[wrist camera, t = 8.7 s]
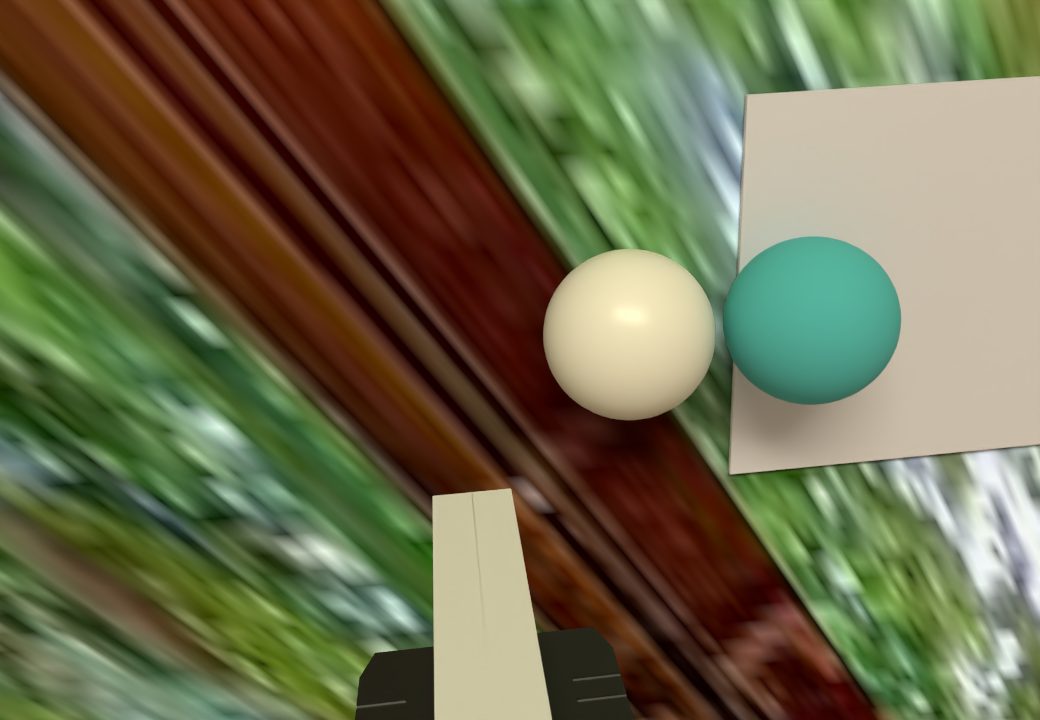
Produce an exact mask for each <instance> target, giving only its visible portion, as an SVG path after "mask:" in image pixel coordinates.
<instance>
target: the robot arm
mask: <svg viewBox="0 0 1040 720" xmlns="http://www.w3.org/2000/svg"><path fill="white" fill-rule="evenodd" d="M433 591H434V647H425V648H416V649H407V650H398V651H389V652H380V653H375V654H374V656H373V657H372V659H371V660H370V662H369V664H368V665H367V667H366V668H365V670H364V672H363V673H362V675H361V676H360V678H359V688H358V697H357V710H356V716H355V720H634V718H633V714H632V711H631V708H630V704H629V701H628V698H627V697H626V691H625V687H624V684H623V681H622V677H621V676H620V671H619V667H618V664H617V660H616V657H615V654H614V650H613V647H612V646H611V645H610V644H609V643H608V642H607V641H606V640H605V639H604V638H603V636H602V635H601V634H600V633H599V632H598V631H597V630H596V629H595V628H594V627H588V628H579V629H570V630H561V631H552V632H542V633H537V632H536V626H535V621H534V615H533V610H532V604H531V598H530V593H529V587H528V582H527V576H526V570H525V565H524V559H523V554H522V548H521V542H520V537H519V531H518V525H517V520H516V514H515V509H514V503H513V497H512V492H511V489H501V490H491V491H481V492H470V493H460V494H450V495H439V496H433Z"/></svg>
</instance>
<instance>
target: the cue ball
mask: <svg viewBox="0 0 1040 720" xmlns="http://www.w3.org/2000/svg"><path fill="white" fill-rule="evenodd" d="M715 340H716V328H715V320H714V314H713V311H712V308H711V305H710V302H709V300H708V298H707V296H706V294H705V292H704V291H703V289H702V287H701V286H700V284H699V283H698V282H697V281H696V279H695V278H694V277H693V276H692V275H691V274H690V273H689V272H688V271H687V270H686V269H685V268H683V267H682V266H681V265H679V264H678V263H676V262H675V261H673V260H671V259H670V258H667V257H665V256H663V255H661V254H657V253H654V252H651V251H646V250H639V249H621V250H613V251H609V252H605V253H602V254H599V255H597V256H595V257H592V258H590V259H588V260H586V261H585V262H583V263H582V264H580V265H579V266H577V267H576V268H575V269H574V270H572V271H571V272H570V273H569V274H568V275H567V276H566V277H565V279H564V280H563V281H562V282H561V283H560V285H559V286H558V287H557V289H556V291H555V292H554V294H553V296H552V298H551V300H550V303H549V305H548V308H547V311H546V315H545V320H544V327H543V342H544V350H545V354H546V359H547V362H548V365H549V367H550V370H551V372H552V374H553V376H554V377H555V379H556V381H557V382H558V384H559V385H560V386H561V388H562V389H563V390H564V391H565V392H566V393H567V395H568V396H569V397H571V398H572V399H573V400H574V401H575V402H576V403H578V404H579V405H581V406H582V407H584V408H586V409H588V410H590V411H591V412H593V413H596V414H598V415H601V416H604V417H608V418H611V419H619V420H639V419H646V418H651V417H654V416H658V415H660V414H662V413H665V412H667V411H669V410H671V409H673V408H674V407H676V406H677V405H679V404H680V403H682V402H683V401H684V400H685V399H687V398H688V397H689V396H690V395H691V394H692V393H693V392H694V391H695V389H696V388H697V387H698V386H699V384H700V383H701V382H702V380H703V378H704V377H705V375H706V373H707V371H708V368H709V366H710V363H711V361H712V358H713V354H714V349H715Z"/></svg>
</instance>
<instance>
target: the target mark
mask: <svg viewBox="0 0 1040 720" xmlns="http://www.w3.org/2000/svg"><path fill="white" fill-rule="evenodd" d="M808 236H820V237H829V238H833V239H837V240H841V241H845V242H847V243H849V244H851V245H853V246H856V247H858V248H860V249H861V250H863V251H864V252H866V253H867V254H868V255H870V256H871V257H872V258H873V259H875V260H876V261H877V262H878V263H879V264H880V266H881V267H882V268H883V269H884V270H885V272H886V273H887V274H888V276H889V278H890V280H891V282H892V283H893V285H894V287H895V289H896V292H897V295H898V299H899V303H900V309H901V330H900V336H899V340H898V344H897V347H896V349H895V352H894V354H893V356H892V358H891V360H890V361H889V363H888V364H887V366H886V368H885V369H884V370H883V371H882V373H881V374H880V375H879V376H878V377H877V378H876V379H875V380H874V381H873V382H871V383H870V384H869V385H868V386H866V387H865V388H864V389H862V390H861V391H859V392H857V393H856V394H854V395H852V396H850V397H847V398H845V399H842V400H839V401H835V402H832V403H826V404H817V405H804V404H796V403H790V402H787V401H783V400H780V399H777V398H774V397H772V396H771V395H769V394H767V393H765V392H763V391H761V390H760V389H758V388H757V387H756V386H755V385H753V384H752V383H751V382H750V381H749V380H748V379H747V378H746V377H745V376H744V375H743V374H742V373H741V371H740V370H739V369H738V367H737V366H736V364H735V363H734V361H733V378H732V400H731V422H730V444H729V466H728V472H729V474H740V473H750V472H761V471H771V470H781V469H791V468H802V467H812V466H822V465H832V464H843V463H853V462H863V461H873V460H884V459H894V458H904V457H914V456H924V455H935V454H945V453H955V452H965V451H976V450H986V449H996V448H1006V447H1017V446H1027V445H1037V444H1040V76H1033V77H1017V78H1002V79H986V80H970V81H955V82H939V83H923V84H907V85H892V86H876V87H860V88H845V89H829V90H813V91H797V92H782V93H766V94H750V95H745V112H744V134H743V157H742V179H741V201H740V223H739V245H738V267H737V276H738V274H739V273H740V272H741V271H742V269H743V268H744V267H745V266H746V265H747V264H748V263H749V262H750V261H751V260H752V259H753V258H754V257H755V256H757V255H758V254H759V253H761V252H762V251H764V250H765V249H767V248H769V247H771V246H773V245H775V244H777V243H780V242H783V241H786V240H789V239H794V238H799V237H808Z"/></svg>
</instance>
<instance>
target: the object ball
mask: <svg viewBox="0 0 1040 720" xmlns="http://www.w3.org/2000/svg"><path fill="white" fill-rule="evenodd" d="M723 329H724V336H725V341H726V345H727V348H728V350H729V353H730V355H731V357H732V359H733V361H734V363H735V364H736V366H737V367H738V369H739V370H740V371H741V373H742V374H743V375H744V376H745V377H746V378H747V379H748V380H749V381H750V382H751V383H752V384H753V385H755V386H756V387H757V388H758V389H760V390H761V391H763V392H765V393H767V394H769V395H771V396H772V397H774V398H777V399H780V400H783V401H787V402H790V403H796V404H804V405H817V404H826V403H832V402H835V401H839V400H842V399H845V398H847V397H850V396H852V395H854V394H856V393H857V392H859V391H861V390H862V389H864V388H865V387H866V386H868V385H869V384H870V383H871V382H873V381H874V380H875V379H876V378H877V377H878V376H879V375H880V374H881V373H882V371H883V370H884V369H885V368H886V366H887V364H888V363H889V361H890V360H891V358H892V356H893V354H894V352H895V349H896V347H897V344H898V340H899V336H900V330H901V309H900V303H899V299H898V295H897V292H896V289H895V287H894V285H893V283H892V282H891V280H890V278H889V276H888V274H887V273H886V272H885V270H884V269H883V268H882V267H881V266H880V264H879V263H878V262H877V261H876V260H875V259H873V258H872V257H871V256H870V255H868V254H867V253H866V252H864V251H863V250H861V249H860V248H858V247H856V246H853V245H851V244H849V243H847V242H845V241H841V240H837V239H833V238H829V237H820V236H808V237H799V238H794V239H789V240H786V241H783V242H780V243H777V244H775V245H773V246H771V247H769V248H767V249H765V250H764V251H762V252H761V253H759V254H758V255H757V256H755V257H754V258H753V259H752V260H751V261H750V262H749V263H748V264H747V265H746V266H745V267H744V268H743V269H742V271H741V272H740V273H739V274H738V276H737V277H736V279H735V281H734V282H733V284H732V286H731V288H730V291H729V293H728V296H727V299H726V303H725V307H724V314H723Z"/></svg>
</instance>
